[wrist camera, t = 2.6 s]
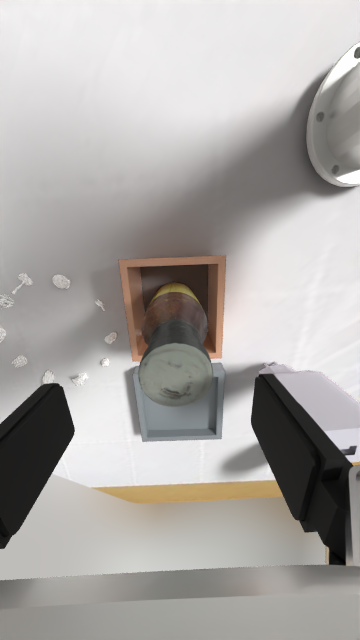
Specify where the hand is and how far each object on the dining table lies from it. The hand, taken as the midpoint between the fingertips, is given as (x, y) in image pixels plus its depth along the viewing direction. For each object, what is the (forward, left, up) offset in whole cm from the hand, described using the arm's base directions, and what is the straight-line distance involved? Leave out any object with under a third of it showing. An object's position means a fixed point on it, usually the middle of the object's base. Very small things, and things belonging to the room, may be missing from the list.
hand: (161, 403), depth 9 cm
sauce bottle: (0, 0, -21) cm, 21 cm away
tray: (0, +19, -21) cm, 28 cm away
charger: (-16, +12, -21) cm, 29 cm away
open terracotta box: (0, 0, -21) cm, 21 cm away
